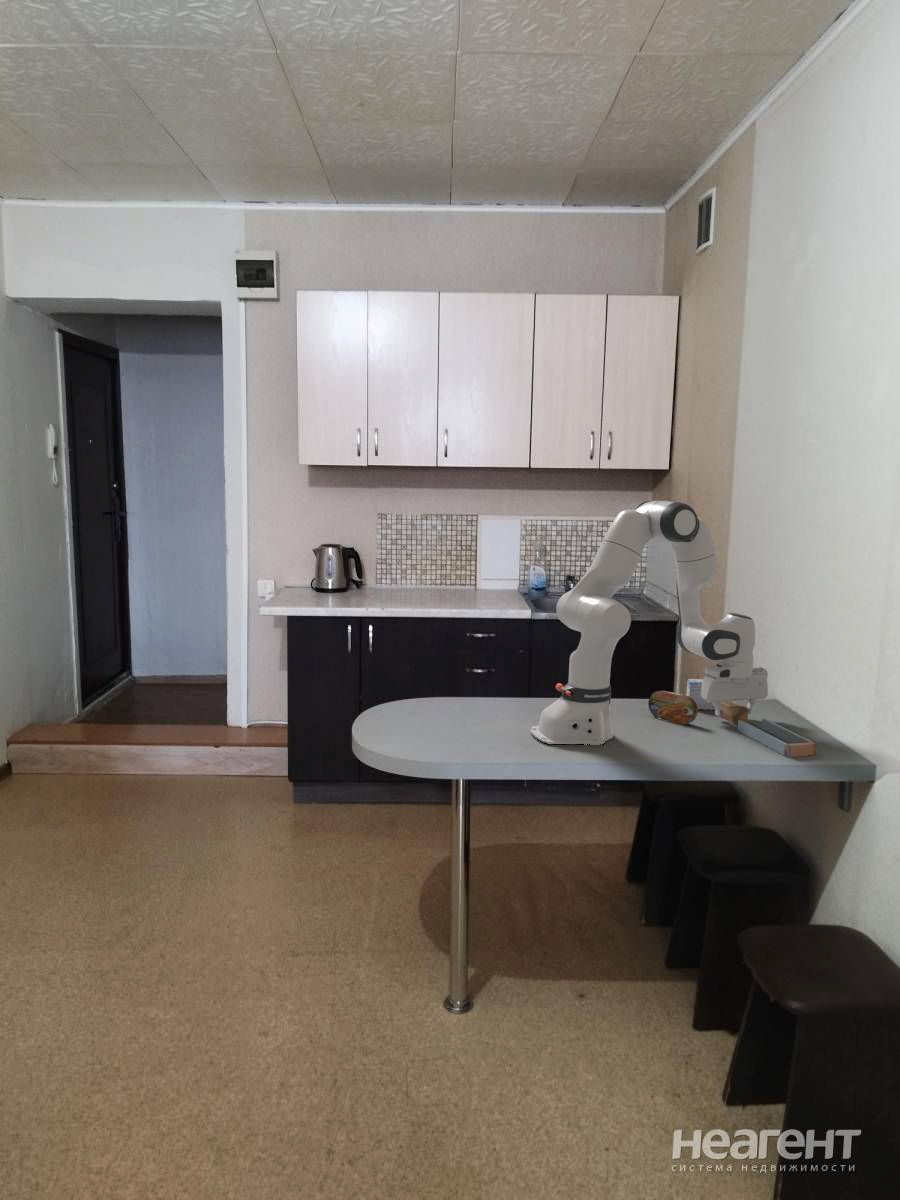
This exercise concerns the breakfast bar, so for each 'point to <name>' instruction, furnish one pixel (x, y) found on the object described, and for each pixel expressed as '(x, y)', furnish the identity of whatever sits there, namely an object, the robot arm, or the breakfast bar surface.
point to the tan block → (734, 712)
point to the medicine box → (697, 694)
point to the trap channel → (794, 749)
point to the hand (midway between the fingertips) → (733, 714)
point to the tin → (673, 707)
